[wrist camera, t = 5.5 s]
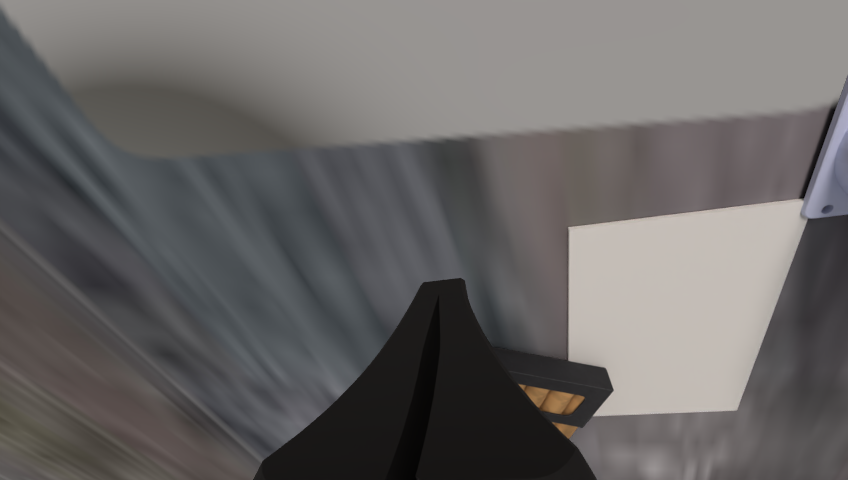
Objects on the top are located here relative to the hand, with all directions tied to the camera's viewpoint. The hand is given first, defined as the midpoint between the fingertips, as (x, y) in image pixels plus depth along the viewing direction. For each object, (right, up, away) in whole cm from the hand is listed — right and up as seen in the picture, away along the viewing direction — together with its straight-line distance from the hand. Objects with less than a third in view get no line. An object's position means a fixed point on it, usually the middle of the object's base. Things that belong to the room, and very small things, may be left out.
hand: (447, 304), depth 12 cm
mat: (+16, -4, +13) cm, 21 cm away
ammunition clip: (+7, -7, +14) cm, 17 cm away
